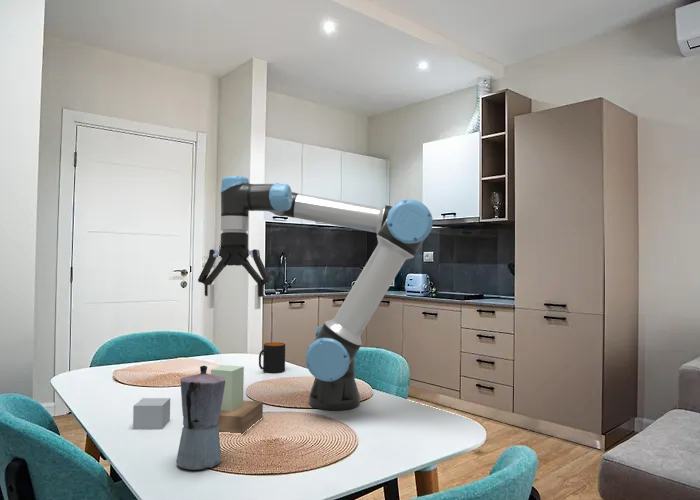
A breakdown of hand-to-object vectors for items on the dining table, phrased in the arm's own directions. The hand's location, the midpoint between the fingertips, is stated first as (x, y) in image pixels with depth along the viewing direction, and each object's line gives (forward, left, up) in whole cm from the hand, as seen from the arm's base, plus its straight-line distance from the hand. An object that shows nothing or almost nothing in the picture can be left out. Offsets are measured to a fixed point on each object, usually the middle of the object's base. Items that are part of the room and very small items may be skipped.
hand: (234, 308), depth 142 cm
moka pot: (-9, +35, -29) cm, 46 cm away
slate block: (+15, +15, -29) cm, 36 cm away
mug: (+9, -52, -29) cm, 61 cm away
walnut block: (-3, +10, -29) cm, 31 cm away
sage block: (-3, +10, -24) cm, 26 cm away
